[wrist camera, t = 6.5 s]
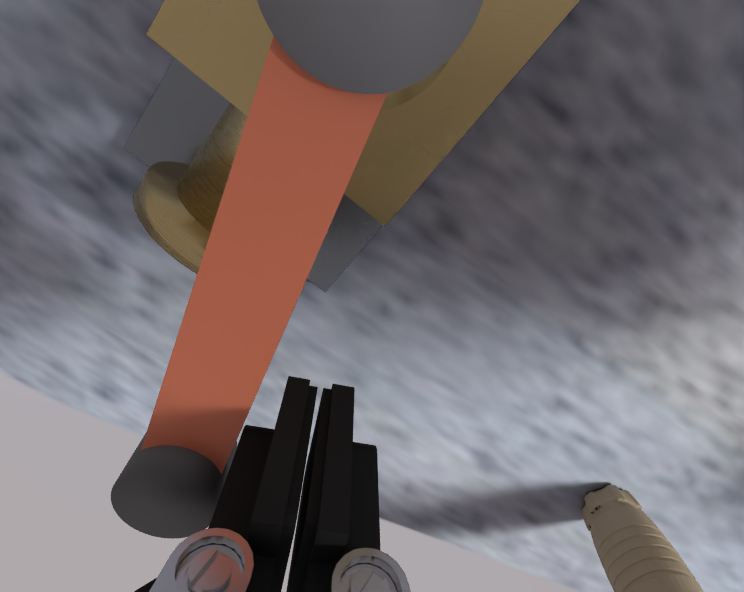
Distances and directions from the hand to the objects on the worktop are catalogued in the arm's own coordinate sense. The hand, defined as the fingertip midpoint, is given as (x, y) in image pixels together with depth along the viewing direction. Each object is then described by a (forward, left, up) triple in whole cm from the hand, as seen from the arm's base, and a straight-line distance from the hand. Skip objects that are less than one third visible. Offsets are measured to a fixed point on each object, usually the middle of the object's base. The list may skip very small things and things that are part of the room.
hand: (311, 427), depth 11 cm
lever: (-3, -3, 0) cm, 5 cm away
